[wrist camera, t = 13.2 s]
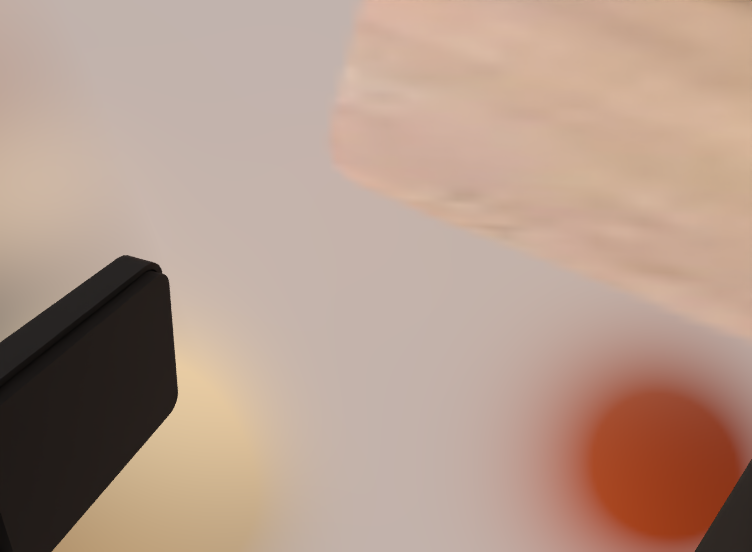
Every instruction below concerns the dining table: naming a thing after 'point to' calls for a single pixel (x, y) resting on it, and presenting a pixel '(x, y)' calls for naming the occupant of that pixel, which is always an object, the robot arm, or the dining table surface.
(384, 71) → the dining table surface
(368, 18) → the dining table surface
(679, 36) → the dining table surface
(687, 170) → the dining table surface
